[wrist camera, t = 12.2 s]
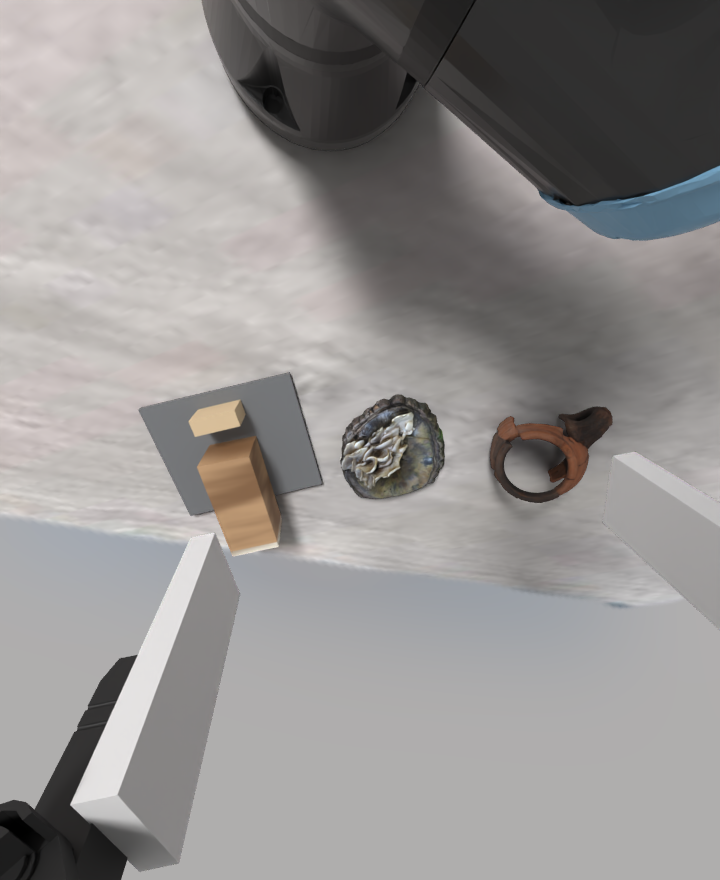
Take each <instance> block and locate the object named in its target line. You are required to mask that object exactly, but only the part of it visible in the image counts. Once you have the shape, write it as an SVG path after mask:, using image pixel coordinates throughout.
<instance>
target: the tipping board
mask: <svg viewBox="0 0 720 880" xmlns="http://www.w3.org/2000/svg"><path fill="white" fill-rule="evenodd" d="M139 412H140V414H141V416H142V418H143V420H144V422H145V424H146V426H147V428H148V430H149V432H150V435H151V437H152V439H153V441H154V443H155V445H156V447H157V449H158V451H159V453H160V455H161V457H162V459H163V461H164V463H165V465H166V467H167V469H168V471H169V473H170V475H171V477H172V479H173V481H174V483H175V485H176V487H177V489H178V491H179V494H180V496H181V498H182V500H183V502H184V504H185V506H186V508H187V510H188V512H189V514H190V516H192V515H196V514H200V513H205V512H209V511H213V510H214V509H213V506H212V504H211V501H210V499H209V496H208V494H207V491H206V489H205V486H204V484H203V481H202V479H201V476H200V474H199V471H198V469H197V466H198V464H199V462H200V461H201V459H202V457H203V456H204V454H205V452H206V450H207V449H208V447H209V445H212V444H217V443H222V442H227V441H232V440H237V439H242V438H247V437H252V436H256V437H257V441H258V444H259V447H260V450H261V453H262V457H263V460H264V463H265V466H266V469H267V473H268V476H269V479H270V482H271V485H272V489H273V492H274V495H279V494H283V493H287V492H291V491H295V490H299V489H303V488H307V487H311V486H316V485H320V484H322V480H321V476H320V473H319V470H318V466H317V463H316V459H315V456H314V453H313V449H312V446H311V442H310V439H309V436H308V432H307V429H306V426H305V422H304V419H303V415H302V412H301V409H300V405H299V402H298V398H297V395H296V392H295V388H294V385H293V382H292V378H291V375H290V372H289V373H285V374H280V375H276V376H272V377H268V378H264V379H259V380H255V381H251V382H247V383H242V384H238V385H234V386H230V387H226V388H221V389H217V390H213V391H209V392H205V393H200V394H196V395H192V396H188V397H184V398H179V399H175V400H171V401H167V402H162V403H158V404H154V405H150V406H146V407H141V408H140V409H139Z"/></svg>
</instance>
